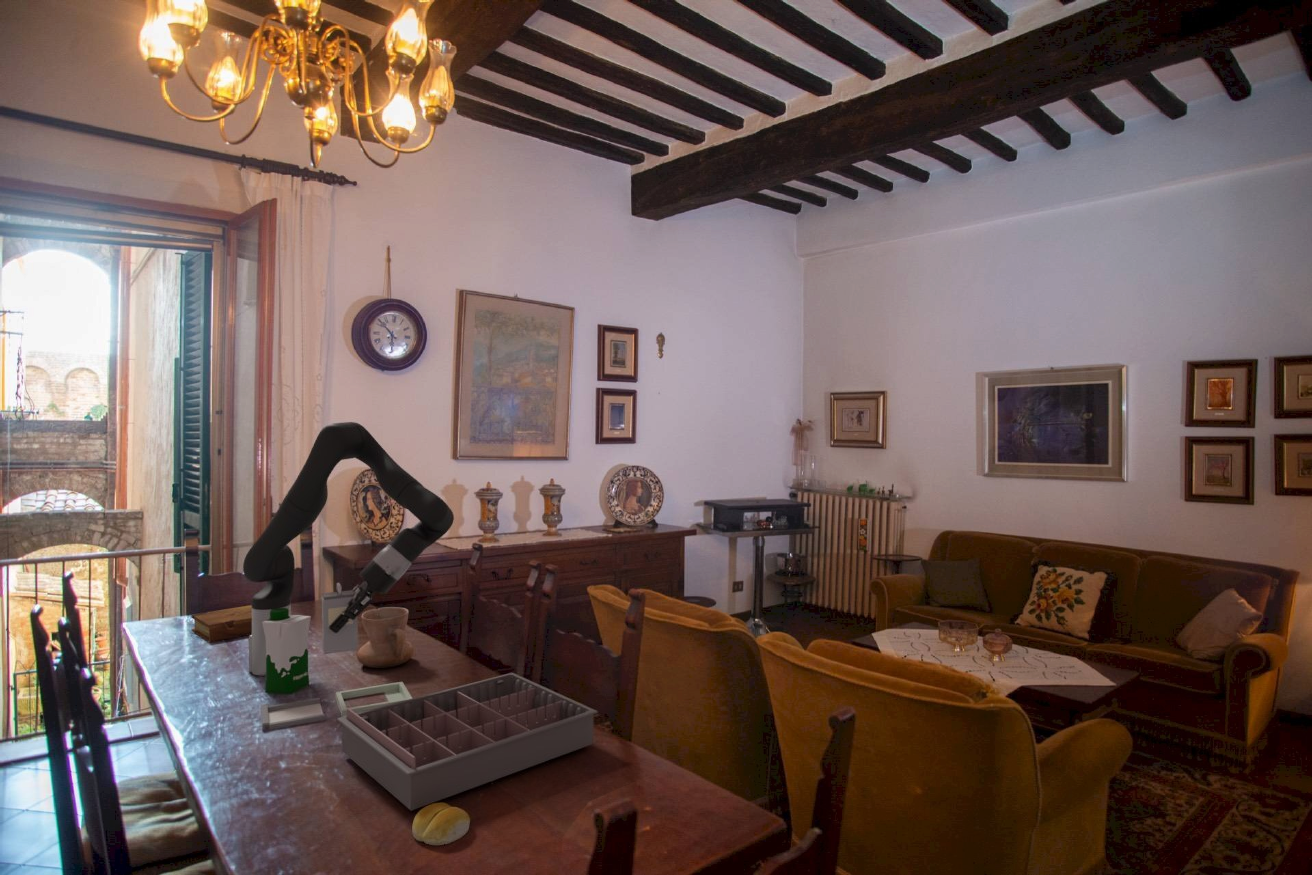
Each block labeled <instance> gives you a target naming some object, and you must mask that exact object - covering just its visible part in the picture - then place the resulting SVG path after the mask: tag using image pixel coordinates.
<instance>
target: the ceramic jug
mask: <svg viewBox="0 0 1312 875" xmlns="http://www.w3.org/2000/svg"><path fill="white" fill-rule="evenodd" d="M408 619H409V609H407V608H405V607H399V606H397V607H395V606H389V607H388V606H386V607H378V609H377V608H373V609H368V610H366V611H364V612H363V613H362V614H361V622H362V625H363V629H364V631H365V634H366V635H367V637H368V641H367V642H366V643H365V644H363V645H362V646H361V647H360V648H358V650H357V654H356V657H357V660H358V662H359V663H360V664H361V665H363V666H365V667H367V668H373V669H385V668H387V669H388V668H392V667H396V666H399V665H402V664H404V663H406V662H407V661H409V660H410V659H412V656H413V654H414V647H413V644H412V643H411V642H410V641H408V640H406V634H405V633H406V632H405V629H406V628H407V623H408Z"/></svg>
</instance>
